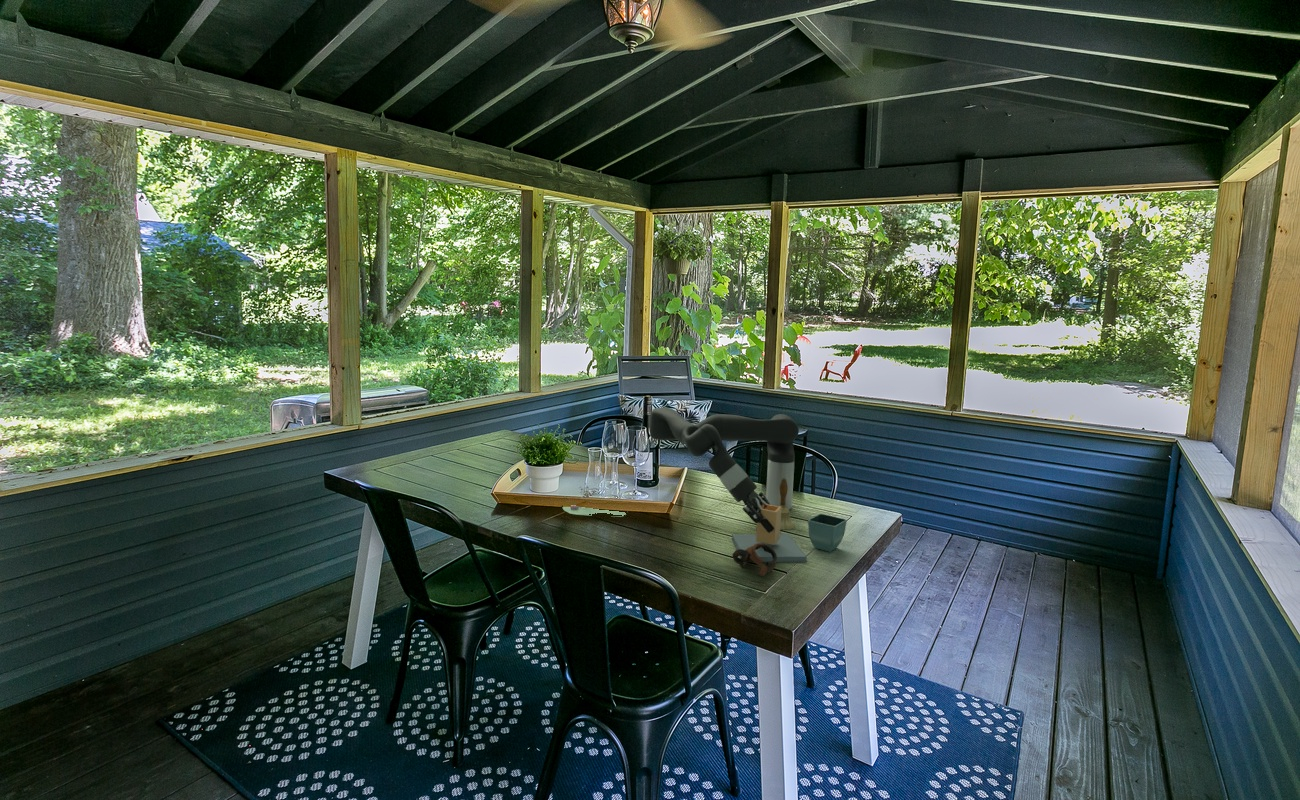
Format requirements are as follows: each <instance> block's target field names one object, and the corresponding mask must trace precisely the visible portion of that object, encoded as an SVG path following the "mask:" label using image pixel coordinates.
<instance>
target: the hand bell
mask: <svg viewBox="0 0 1300 800" xmlns="http://www.w3.org/2000/svg"><path fill="white" fill-rule="evenodd" d="M787 491H788V485H787V482H786V479H785V478H782V481H781V483H780V495H781V503H780V506H781V524H780V531H781V530H785V531H788V530H792V529H794V528H795V527H796V526H795V523H794V522H793V521H792V518H791V513H790V509H787V508H786V495H787Z"/></svg>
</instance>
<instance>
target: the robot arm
mask: <svg viewBox="0 0 1300 800" xmlns="http://www.w3.org/2000/svg"><path fill="white" fill-rule="evenodd" d="M649 419H650V420H649V422H650V423H649V424H650V425H649V436H650V438H651V439H654V440H656V441H678V442H680V443H681V444H684V445H685V446H686V448H687V449H688V451H689V453H690V454H691V455H693V456H695V457H701V456H704V455H705V454H707V453H708V452H709V451H710V450H712V449H713V448H714V449H715V454H713V456H712V457H711V459H710V460H709V461H708V466H709V468H710V469H711V470H712V472H713V473H714V474H715V475H716V477H717V478H718V479H719V481H720V482H721V483H722V485H723V486H724V487H725V489H726V490H727V491H728V493H730V495H731V496H732V498H733V500H735V501H736V502H737V503H741V501H742V502H743V504H744V505H745V506H743V507H742V511H743V512H744V513H745V514H746V515H747V516H748V517H749V518H750V519H751V520H752V521H753V522H754V523H755V524H756V525H757V523H761V524H762V526H763V527H764V528H765V529H766V531H767V532H768V533H770V532H771V531H773V530H774V527H773V526H772V524H771V523H770V522H769V521H768V520H767V518H766V517H765V515H764V514H763V513H762V507H761V506H762V505H764V509H765V508H766V507H768V506H767V504H768V505H774V506H780V503H781V495H780V483H781V481H782V478H785V479H786V482H787V485H788V491H787V495H786V508H787V509H789V510H792V507H793V495H794V494H793V492H794V491H793V489H794V473H795V457H796V455H795V450H794V441H795V440H796V438H797V437H798V436H799V433H800V430H799V426H798V424H797V422H796V421H795V420H794V419H793V418H792V417H790V416H789V415H787V414H784V413H779V414H775V415H774V416H772V417H771V419H757V418H751V417H749V416H747V417H746V416H742V415H739V414H728V413H727V414H726V413H725V414H721V413H720V414H719V413H717V414H711V415H709V416H708V417H705V418H704V419H702V420H701V421H699V422H697V423H696V424H695V423H692V422H690V421H688V420H686V419H685V418H684V417H683V416H682V415H681V414H680V413H678V412H677V411H676V410H675V409H673V408H670V407H655V408H654V409H652V410H651V412H650V418H649ZM725 441H726V442H742V441H743V442H744V441H747V442H748V441H763V442H767V443H766V446H767V447H766V449H767V469H766V470H767V473H766V476H767V477H766V490H765V491H766V493H765V494H764V493H763V492H760V493H757V492H756V491H755V490H756V489H757V484H756V483H755V482H754V480H752V479H751V477H750V475H748V474H747V472H746V471H745V470H744V469H743V468H742V466H740V464H738V463H737V461H736V460H735V459H734V458H733V457H732V455H731V454H730V452H728V450H727V448H726V446H725V444H724V442H725ZM758 508H759V510H758ZM759 513H760V514H759Z"/></svg>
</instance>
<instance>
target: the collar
mask: <svg viewBox="0 0 1300 800" xmlns="http://www.w3.org/2000/svg"><path fill="white" fill-rule="evenodd" d="M767 506H768V507H766V508H765V509H764V505H762V506H761V507H762V513H763V514H764V515H765V517H766V518H767V520H768V521H769V522H770V523H771V524H772V526H773V527H774V530H773V531H771V532H770V533H768V532H767V531H766V529H765V528H764V527H763V526H762V524H761V523H757V524H756V533H755V534H756V542H762V543H767V544H772V545H775V544H776V543H777V541H778V540H779V539H780V534H781V529H780V524H781V506H774V505H768V504H767ZM758 510H759V508H758ZM759 514H760V513H759Z"/></svg>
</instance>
